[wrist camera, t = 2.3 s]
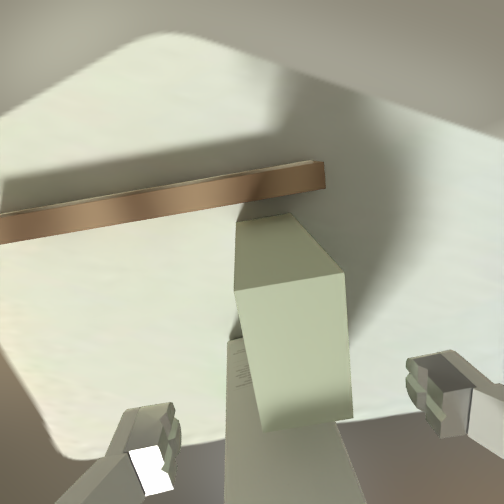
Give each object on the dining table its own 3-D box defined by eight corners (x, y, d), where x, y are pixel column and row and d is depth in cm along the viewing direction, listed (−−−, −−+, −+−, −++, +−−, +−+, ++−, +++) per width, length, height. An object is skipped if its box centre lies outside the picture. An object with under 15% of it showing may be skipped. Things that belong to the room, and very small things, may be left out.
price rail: (313, 158, 19) (323, 159, 17) (315, 184, 20) (325, 188, 18) (-2, 213, 19) (-34, 221, 17) (9, 237, 20) (-20, 248, 18)
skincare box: (226, 337, 24) (206, 639, 9) (304, 320, 23) (415, 600, 9) (249, 411, 26) (262, 736, 12) (318, 396, 26) (422, 707, 11)
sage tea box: (235, 222, 20) (231, 291, 10) (290, 213, 20) (344, 272, 10) (250, 306, 23) (261, 433, 12) (300, 298, 23) (353, 418, 12)
